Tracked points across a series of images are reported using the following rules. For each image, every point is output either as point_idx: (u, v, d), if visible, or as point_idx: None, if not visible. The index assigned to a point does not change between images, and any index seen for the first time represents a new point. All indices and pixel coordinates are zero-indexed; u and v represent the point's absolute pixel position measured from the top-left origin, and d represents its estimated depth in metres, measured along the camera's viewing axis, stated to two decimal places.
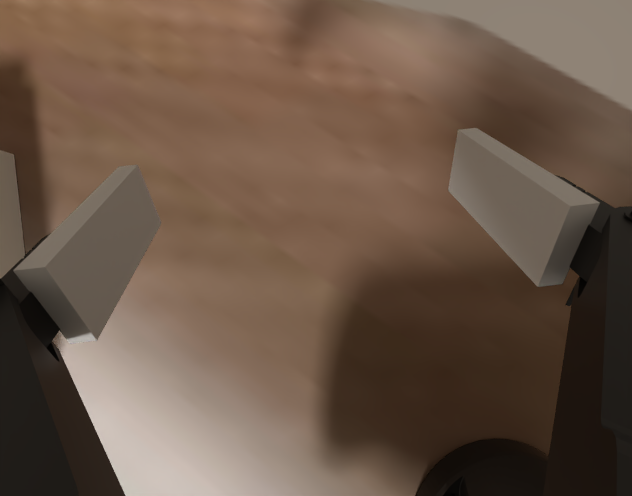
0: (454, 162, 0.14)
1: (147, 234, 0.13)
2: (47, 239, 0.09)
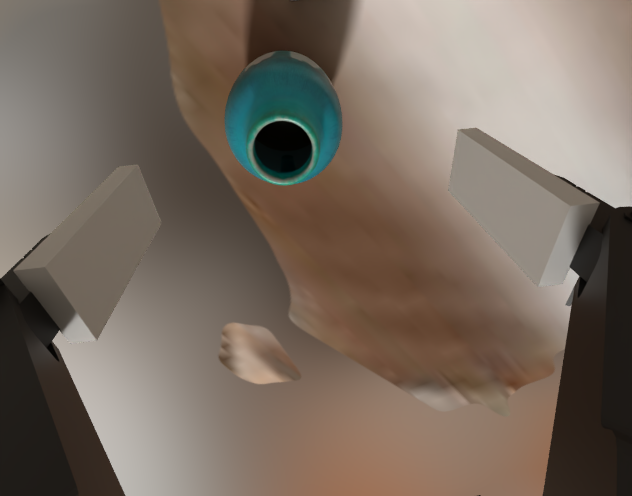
0: (454, 162, 0.14)
1: (147, 234, 0.13)
2: (47, 239, 0.09)
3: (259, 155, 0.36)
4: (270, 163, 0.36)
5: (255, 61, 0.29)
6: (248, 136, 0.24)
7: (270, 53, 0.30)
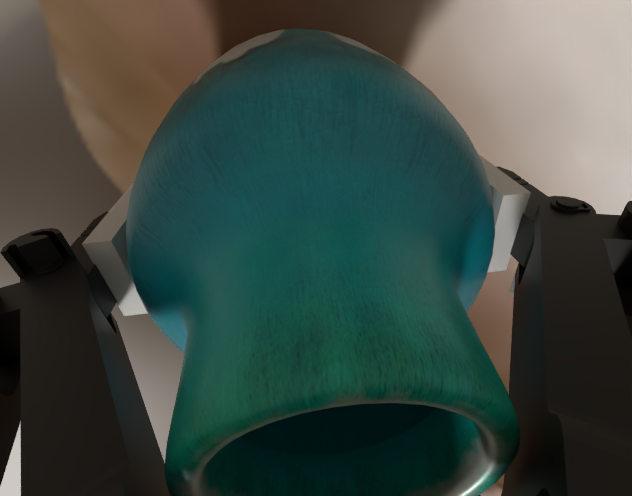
0: None
1: None
2: (106, 218, 0.10)
3: None
4: None
5: (229, 53, 0.10)
6: (172, 455, 0.04)
7: (273, 32, 0.11)
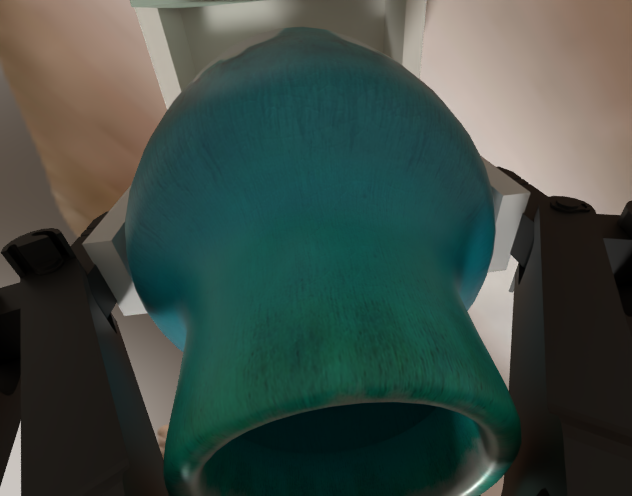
0: None
1: None
2: (106, 218, 0.10)
3: None
4: None
5: (229, 51, 0.10)
6: (171, 454, 0.04)
7: (272, 31, 0.11)
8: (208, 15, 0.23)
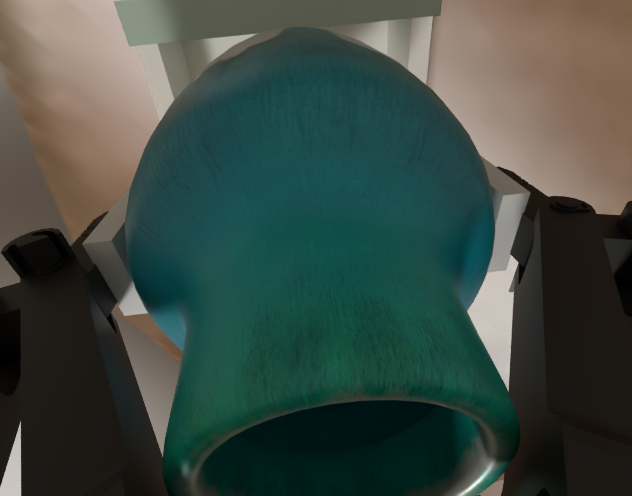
0: None
1: None
2: (106, 218, 0.10)
3: None
4: None
5: (229, 50, 0.10)
6: (170, 452, 0.04)
7: (273, 30, 0.11)
8: None
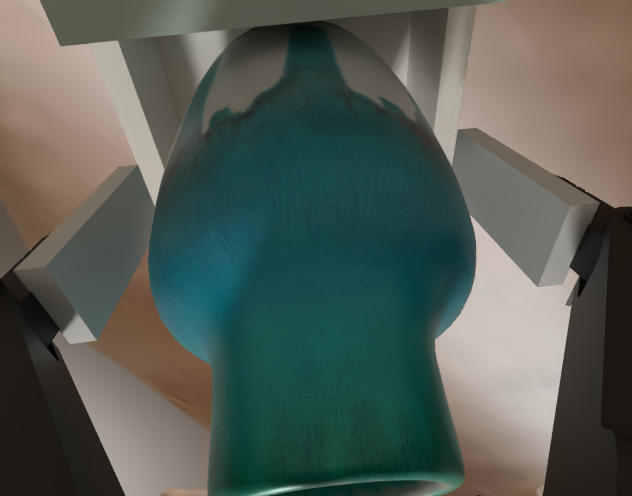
0: (453, 162, 0.14)
1: (147, 234, 0.13)
2: (47, 239, 0.09)
3: None
4: None
5: (234, 84, 0.10)
6: None
7: (276, 47, 0.11)
8: None
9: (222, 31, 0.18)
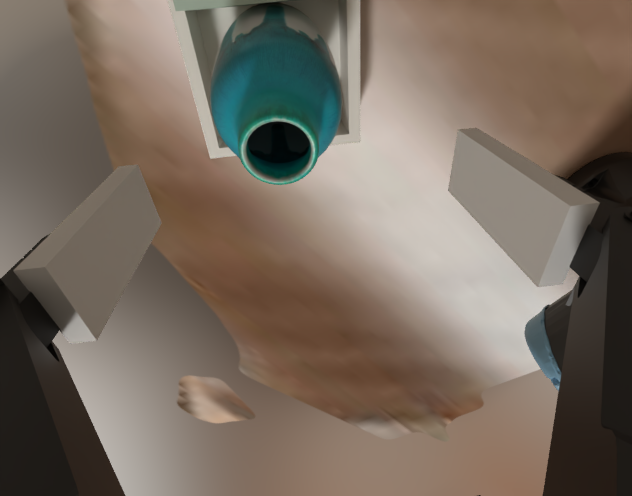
0: (454, 162, 0.14)
1: (147, 234, 0.13)
2: (47, 239, 0.09)
3: None
4: (260, 137, 0.33)
5: (244, 26, 0.25)
6: (241, 136, 0.21)
7: (260, 13, 0.26)
8: None
9: (233, 11, 0.33)
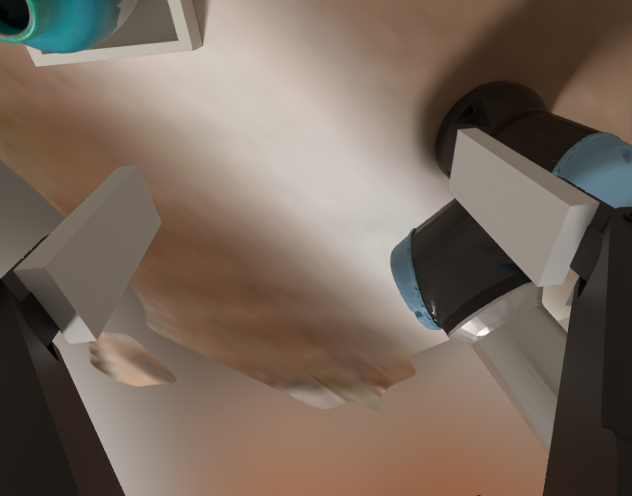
0: (454, 161, 0.14)
1: (147, 234, 0.13)
2: (47, 239, 0.09)
3: None
4: None
5: None
6: None
7: None
8: None
9: None
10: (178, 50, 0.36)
